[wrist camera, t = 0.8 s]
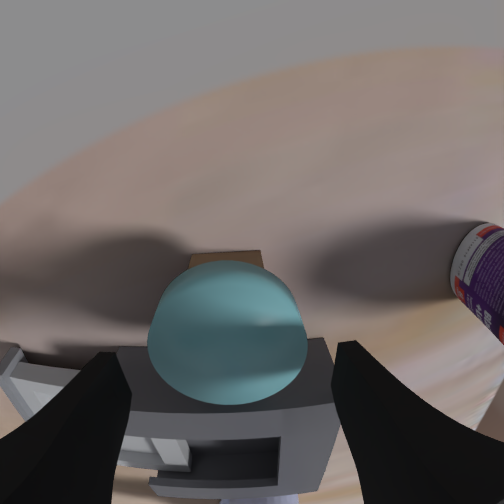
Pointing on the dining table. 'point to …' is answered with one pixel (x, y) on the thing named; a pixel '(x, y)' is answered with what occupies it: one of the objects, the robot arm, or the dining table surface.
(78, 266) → the dining table surface
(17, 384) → the tray
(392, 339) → the dining table surface
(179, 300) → the teal rounded dome
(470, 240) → the pill bottle
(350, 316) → the dining table surface
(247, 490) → the grey drawer housing
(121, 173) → the dining table surface
